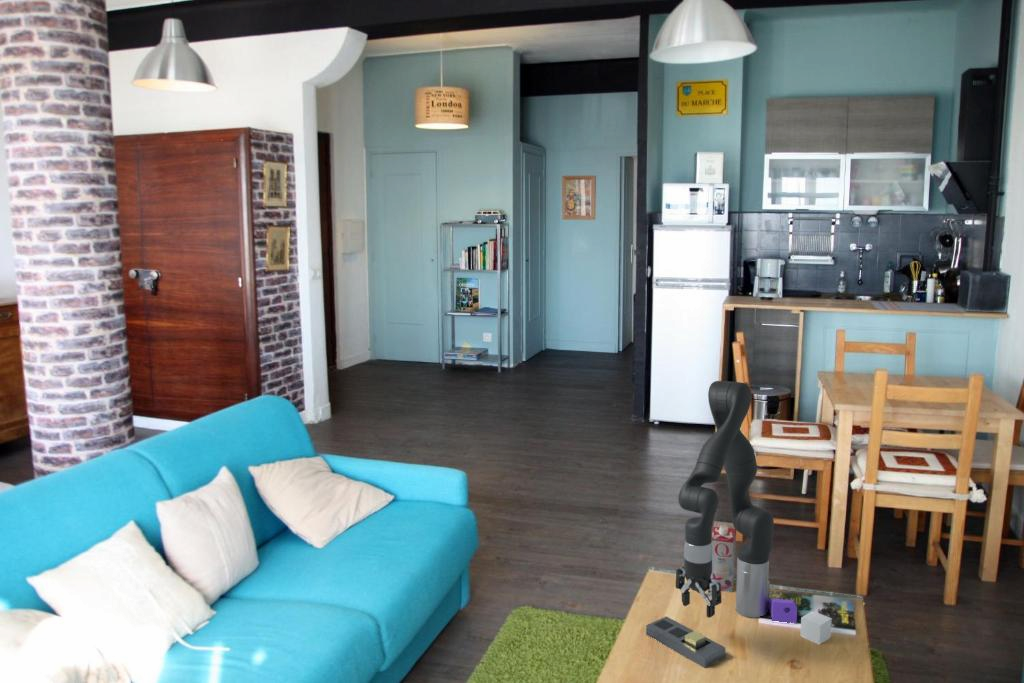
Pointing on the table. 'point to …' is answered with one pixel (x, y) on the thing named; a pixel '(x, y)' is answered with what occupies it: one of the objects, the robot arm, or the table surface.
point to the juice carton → (723, 555)
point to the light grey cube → (816, 627)
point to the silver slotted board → (675, 639)
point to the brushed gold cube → (695, 640)
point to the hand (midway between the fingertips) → (697, 610)
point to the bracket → (783, 610)
